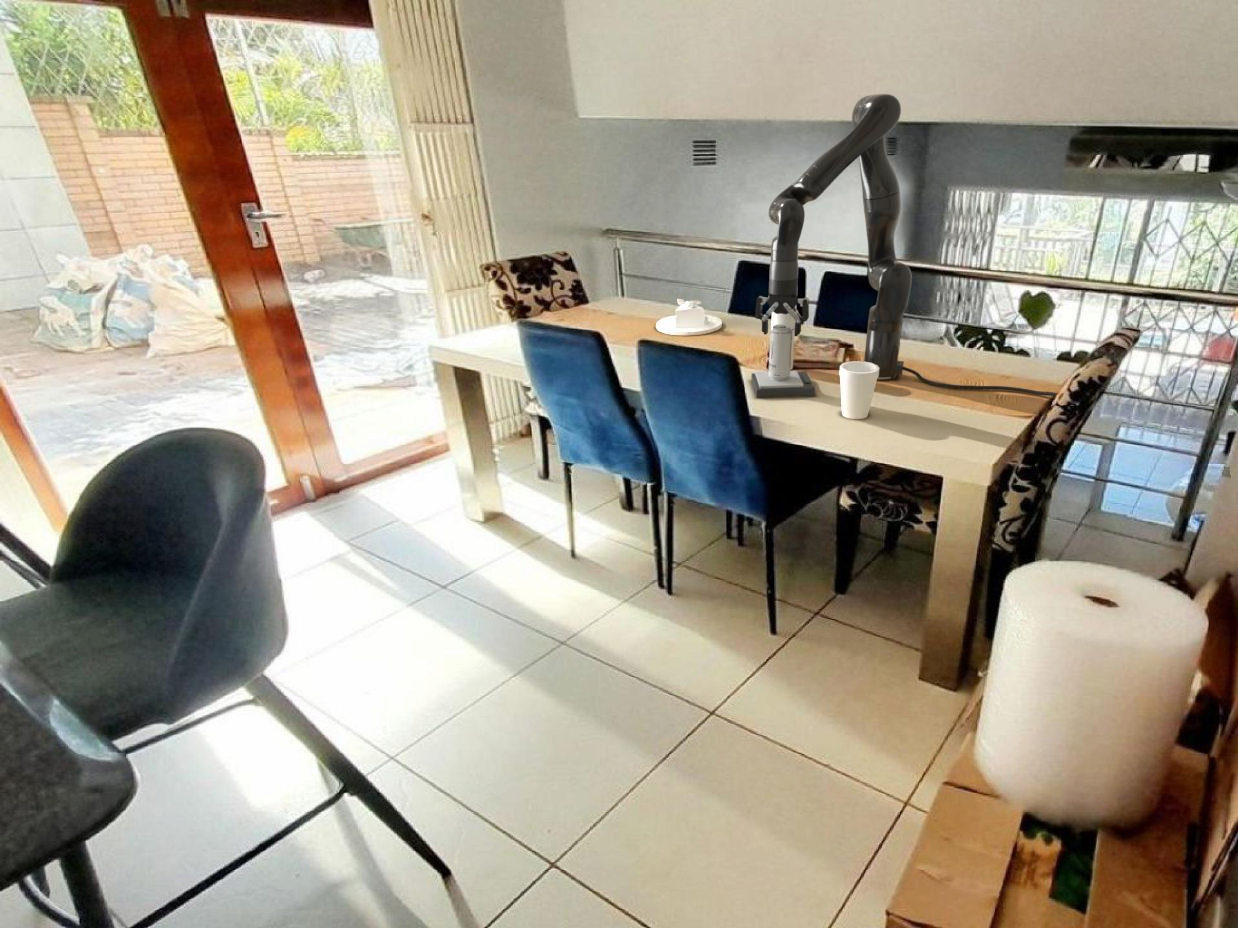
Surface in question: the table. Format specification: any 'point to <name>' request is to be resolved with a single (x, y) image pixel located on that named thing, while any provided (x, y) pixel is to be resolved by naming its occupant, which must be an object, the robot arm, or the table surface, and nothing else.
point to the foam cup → (857, 388)
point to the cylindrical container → (785, 320)
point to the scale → (782, 385)
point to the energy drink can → (780, 352)
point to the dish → (689, 320)
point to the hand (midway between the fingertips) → (781, 334)
